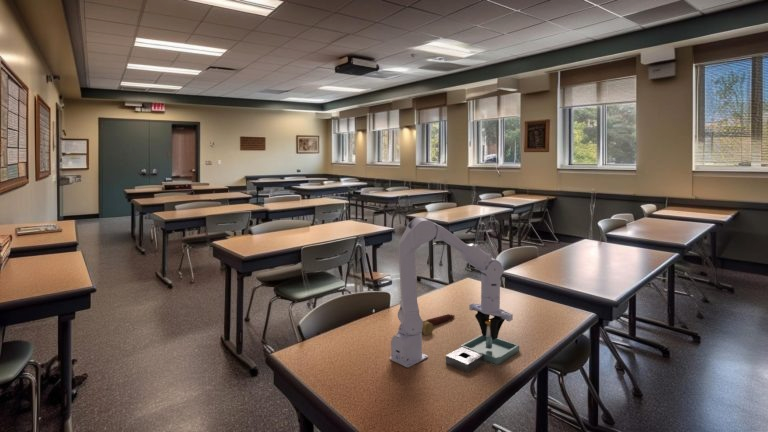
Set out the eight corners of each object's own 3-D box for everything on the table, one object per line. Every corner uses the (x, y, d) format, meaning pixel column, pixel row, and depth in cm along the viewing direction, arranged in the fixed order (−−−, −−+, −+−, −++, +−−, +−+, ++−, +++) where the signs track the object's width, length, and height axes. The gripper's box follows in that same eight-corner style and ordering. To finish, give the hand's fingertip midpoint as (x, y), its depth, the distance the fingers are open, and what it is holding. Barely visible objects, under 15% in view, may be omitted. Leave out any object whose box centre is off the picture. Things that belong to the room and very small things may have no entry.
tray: (496, 365, 123) (496, 359, 122) (460, 351, 132) (460, 345, 132) (519, 351, 131) (519, 345, 131) (483, 338, 141) (483, 333, 141)
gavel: (445, 306, 165) (464, 313, 157) (444, 318, 165) (463, 325, 157) (405, 316, 152) (424, 324, 144) (405, 328, 152) (424, 337, 144)
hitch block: (467, 372, 119) (467, 364, 119) (445, 363, 125) (445, 355, 124) (483, 363, 124) (483, 355, 124) (461, 354, 130) (461, 346, 130)
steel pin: (490, 350, 129) (491, 323, 128) (481, 347, 131) (482, 320, 131) (496, 347, 131) (497, 320, 130) (487, 344, 134) (488, 318, 133)
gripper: (518, 297, 127) (517, 339, 129) (478, 287, 137) (478, 326, 139) (505, 303, 122) (505, 346, 124) (465, 292, 133) (465, 332, 134)
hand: (489, 336), depth 131 cm, fingers closed on steel pin, 3 cm apart
